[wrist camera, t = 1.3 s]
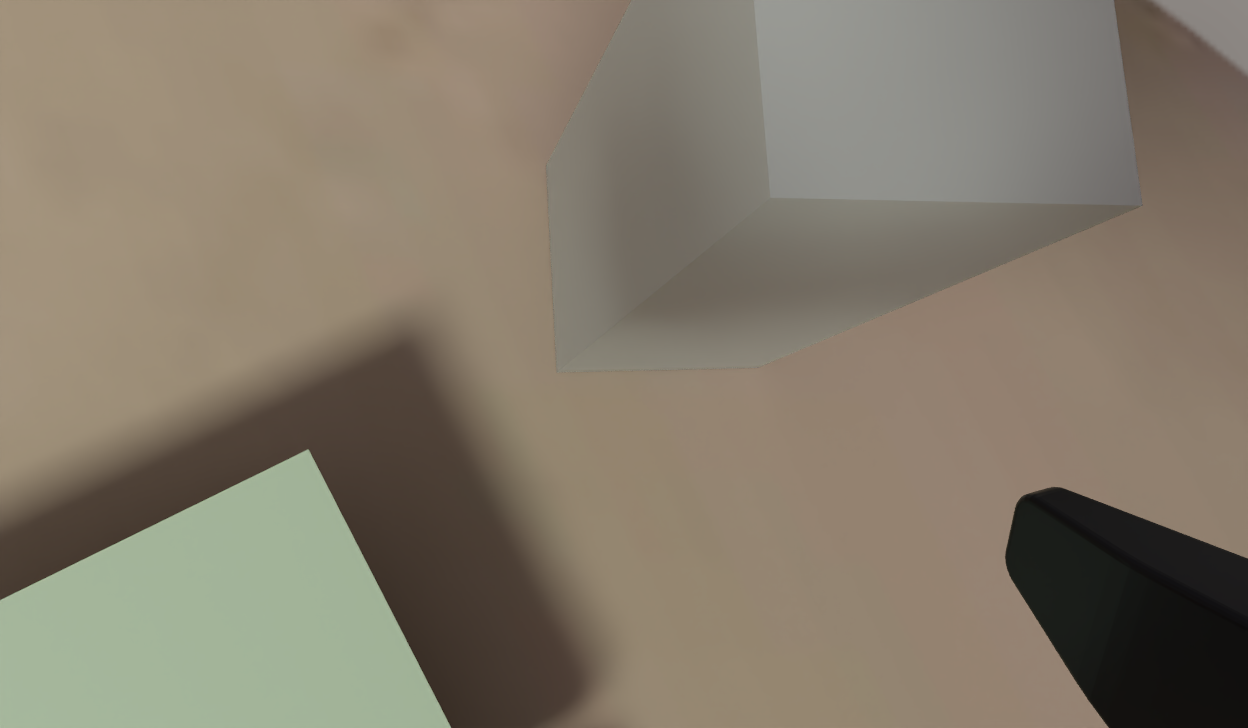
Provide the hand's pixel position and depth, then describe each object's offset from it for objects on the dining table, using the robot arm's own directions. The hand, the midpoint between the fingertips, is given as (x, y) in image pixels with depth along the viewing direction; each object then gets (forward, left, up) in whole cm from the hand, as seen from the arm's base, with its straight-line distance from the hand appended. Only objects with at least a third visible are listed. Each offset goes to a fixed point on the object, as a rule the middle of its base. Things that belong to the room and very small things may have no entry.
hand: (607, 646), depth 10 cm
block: (+4, -7, -14) cm, 16 cm away
